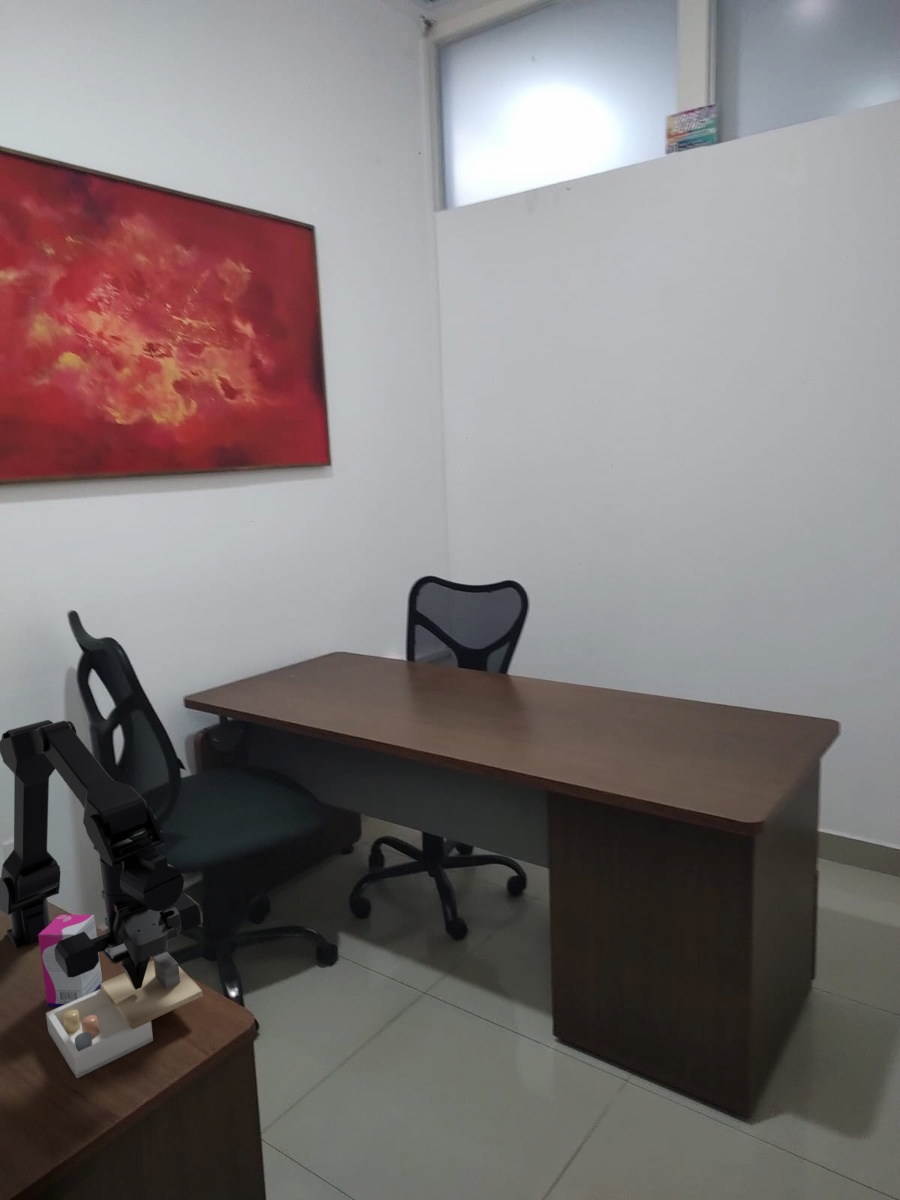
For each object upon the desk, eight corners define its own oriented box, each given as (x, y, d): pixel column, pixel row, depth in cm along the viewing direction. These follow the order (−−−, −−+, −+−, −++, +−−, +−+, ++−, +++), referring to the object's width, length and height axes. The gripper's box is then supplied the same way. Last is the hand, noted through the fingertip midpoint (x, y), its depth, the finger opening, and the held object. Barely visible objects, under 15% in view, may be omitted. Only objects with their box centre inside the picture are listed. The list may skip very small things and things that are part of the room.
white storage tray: (48, 1032, 116) (45, 1012, 116) (120, 999, 123) (118, 981, 122) (76, 1078, 107) (74, 1057, 107) (153, 1040, 114) (150, 1021, 113)
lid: (100, 988, 120) (97, 964, 120) (167, 959, 127) (165, 936, 126) (132, 1029, 111) (129, 1003, 111) (202, 995, 118) (200, 971, 117)
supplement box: (104, 982, 127) (95, 913, 125) (83, 1008, 121) (74, 936, 119) (67, 981, 127) (59, 912, 125) (45, 1007, 121) (35, 935, 119)
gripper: (74, 936, 103) (88, 1049, 106) (215, 882, 115) (224, 984, 118) (47, 902, 111) (60, 1007, 114) (181, 854, 123) (190, 950, 126)
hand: (137, 987), depth 118 cm, fingers closed
